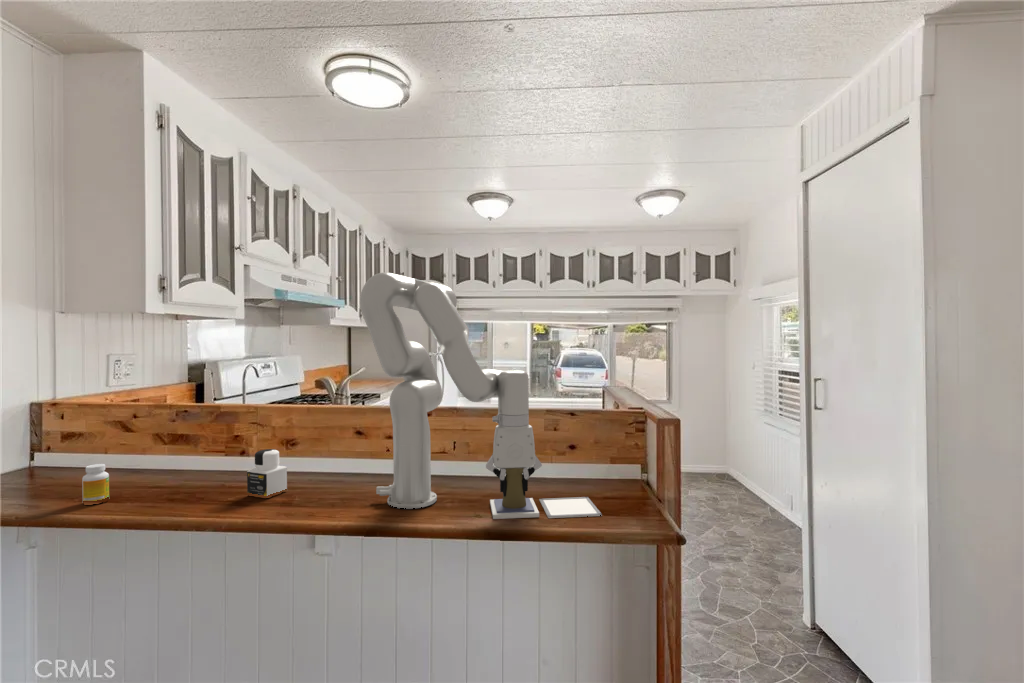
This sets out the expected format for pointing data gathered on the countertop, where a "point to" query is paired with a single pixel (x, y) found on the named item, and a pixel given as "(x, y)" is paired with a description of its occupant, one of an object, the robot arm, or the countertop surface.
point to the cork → (514, 489)
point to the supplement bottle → (95, 483)
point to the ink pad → (513, 510)
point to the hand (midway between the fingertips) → (513, 493)
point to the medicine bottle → (267, 474)
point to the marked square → (569, 507)
